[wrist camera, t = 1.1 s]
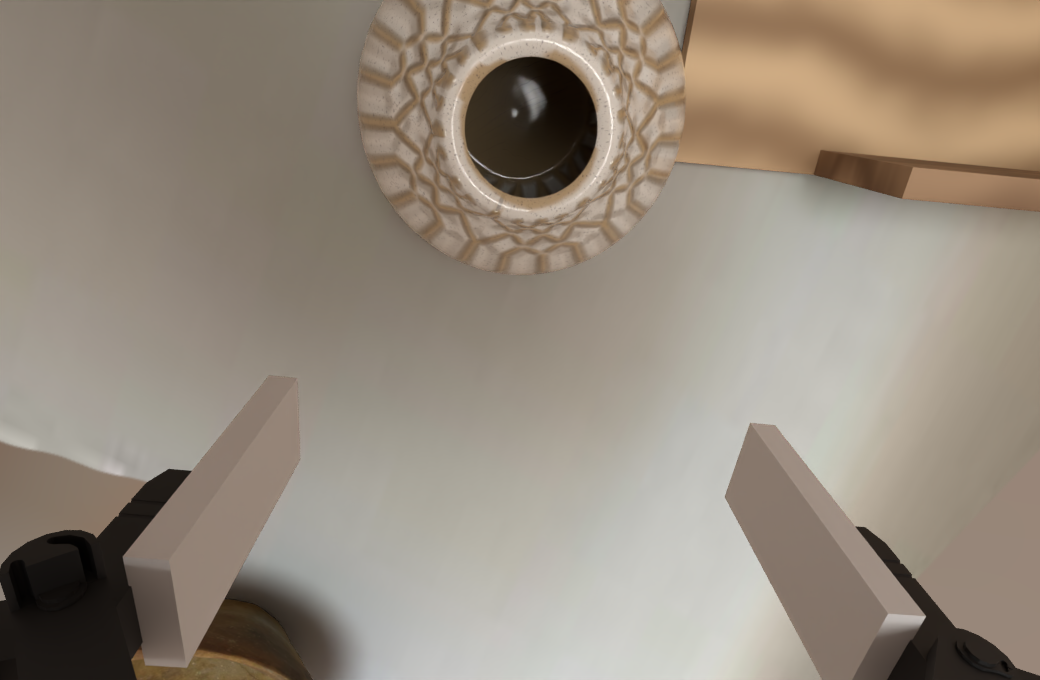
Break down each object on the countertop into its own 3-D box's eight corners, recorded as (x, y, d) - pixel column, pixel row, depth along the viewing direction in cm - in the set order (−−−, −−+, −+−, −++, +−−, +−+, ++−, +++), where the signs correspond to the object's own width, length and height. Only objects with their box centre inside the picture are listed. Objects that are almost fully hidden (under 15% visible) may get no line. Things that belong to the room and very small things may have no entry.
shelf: (711, -108, 31) (797, -191, 22) (1169, -51, 33) (1429, -106, 23) (662, 158, 37) (714, 180, 27) (1055, 196, 38) (1229, 229, 29)
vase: (694, 37, 34) (915, -25, 16) (576, 273, 40) (636, 429, 21) (444, -98, 31) (356, -369, 13) (355, 177, 37) (206, 263, 18)
